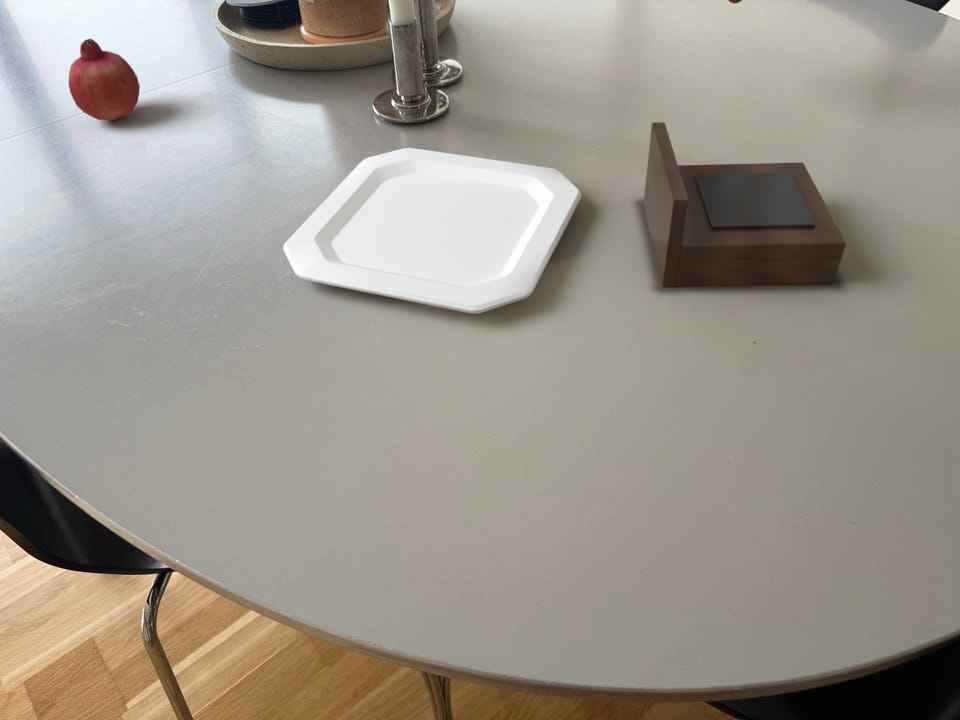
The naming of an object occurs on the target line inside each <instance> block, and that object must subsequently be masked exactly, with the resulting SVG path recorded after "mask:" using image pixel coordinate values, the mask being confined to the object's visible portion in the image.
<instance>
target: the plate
mask: <svg viewBox="0 0 960 720" xmlns="http://www.w3.org/2000/svg"><path fill="white" fill-rule="evenodd" d="M582 197H583V195H582V191H581V190H580V188H578V187H577V186H576V185H575V184H574V183H573V182H572V181H571V180H569V179H568V177H566V176H565V175H564V174H563V173H562V172H561V171H560V170H557V169H555V168H552V167H545V166H538V165H532V164H525V163H518V162H511V161H504V160H497V159H490V158H485V157H475V156H469V155H462V154H455V153H449V152H441V151H435V150H428V149H421V148H415V147H404V148H400V149H396V150H393V151H388V152H384V153H381V154H377V155H373V156H369V157H366V158H364V159H362V160H361V161H360V162H359V163H358V164H357V165H356V167H355V168H354V169H353V170H352V171H351V172H350V173H349V174H348V175H347V176H346V177H345V178H344V179H343V180H342V181H341V182H340V184H338V186H337V187H336V188H335V189H334V190H333V191H332V193H330V195H328V196H327V198H326V199H325V200H324V201H322V203H321V204H320V205H319V206H318V207H317V208H316V209H315V210H314V211H313V213H312V214H311V215H310V216H308V218H307V219H306V220H305V221H304V222H303V223H302V224H301V225H300V226H299V228H297V230H295V232H294V233H293V234H292V235H291V236H290V237H289V239H287V240H286V241H285V242H284V244H283V252H284V254H285V256H286V258H287V260H288V262H289V265H290V266H291V268H292V271H293V272H294V274H295V276H296V277H298V278H299V279H301V280H303V281H308V282H312V283H317V284H323V285H329V286H333V287H337V288H343V289H347V290H352V291H357V292H362V293H367V294H372V295H378V296H382V297H388V298H392V299H397V300H402V301H407V302H412V303H417V304H421V305H427V306H432V307H437V308H442V309H447V310H452V311H457V312H462V313H467V314H481V313H485V312H489V311H492V310H493V309H498V308H500V307H503V306H507V305H509V304H513V303H515V302H516V303H517V302H519V301H521V300H525V299H527V298H529V297H530V296H531V295H532V294H533V292H534V291H535V289H536V287H537V285H538V283H539V281H540V279H541V277H542V275H543V274H544V272H545V269H546V267H547V265H548V264H549V262H550V260H551V258H552V256H553V254H554V252H555V250H556V248H557V246H558V244H559V242H560V241H561V239H562V236H563V234H564V232H565V230H566V229H567V226H568V225H569V222H570V220H572V216H573V215H574V213H575V212H576V209H577V207H578V205H579V203H580V201H581V199H582Z"/></svg>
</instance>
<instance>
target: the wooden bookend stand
mask: <svg viewBox="0 0 960 720" xmlns="http://www.w3.org/2000/svg"><path fill="white" fill-rule="evenodd" d="M650 129H651V131H650V138H649V148H648V157H647V166H646V175H645V185H644V194H643V203H642V205H643V209H644V214H645V217H646V221H647V227H648V230H649V234H650V241H651V244H652V248H653V252H654V257H655V262H656V266H657V270H658V275H659V279H660V283H661V287H662V288H670V287H671V288H672V287H673V288H674V287H716V286H717V287H721V286H722V287H724V286H727V287H728V286H729V287H730V286H731V287H732V286H779V285H780V286H781V285H782V286H784V285H785V286H786V285H788V286H789V285H790V286H791V285H833V284H834V283H835V280H836V277H837V274H838V271H839V267H840V265H841V261H842V258H843V255H844V251H845V249H846V247H847V242H846V240H845V238H844V236H843V234H842V232H841V231H840V229H839V227H838V226H837V223H836V221H835V219H834V218H833V215H832V214H831V212H830V210H829V208H828V206H827V204H826V203H825V201H824V199H823V197H822V195H821V193H820V192H819V190H818V188H817V186H816V184H815V182H814V180H813V179H812V176H811V175H810V172H809V171H808V169H807V167H806V165H805V164H804V162H803V161H802V162H767V163H763V162H761V163H760V162H759V163H725V164H724V163H722V164H721V163H720V164H719V163H718V164H681V165H680V164H678V161H677V159H676V154H675V152H674V151H675V150H674V149H673V145H672V142H671V139H670V136H669V133H668V129H667V125H666V123H665V122H664V121H662V122H661V121H659V122H652V123H651V128H650Z"/></svg>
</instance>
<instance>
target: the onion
mask: <svg viewBox="0 0 960 720" xmlns="http://www.w3.org/2000/svg"><path fill="white" fill-rule="evenodd" d="M727 1H728V2H729V3H730V4H734V5H736V4H738V3H741V2H742V1H743V0H727Z"/></svg>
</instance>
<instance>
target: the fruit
mask: <svg viewBox="0 0 960 720" xmlns="http://www.w3.org/2000/svg"><path fill="white" fill-rule="evenodd" d="M79 53H80V56H79V57H78V58H77V59H75V60H74V61H73V62H72V64H70V68H69V72H68V88H69V93H70V95H71V98H72V99H73V101H74V103H75V105H76V107H77V108H78V109H80V110H81V111H82V113H83V114H86V115H88V116H90V117H92V118H93V119H96V120H97V121H115V120H118V119H120V118H122V117H124V116H127V115H128V114H129V113H131V112H132V111H133V110H134V108H136V105H137V104H138V102H139V96H140V87H141V85H140V82H139V79H138V76H137V74H136V72H135V71H134V69H133V67H131V66H132V65H130V64H129V62H127V60H126V59H125V58H124V57H123V56H121V55H120V54H118V53H115V52H114V51H113V52H112V51H108V50H103V49H102V48H101V46H100V45H99V43H98V42H96V40H94V39H92V38H87V39H85V40H84V41H82V42H81V43H80V47H79Z"/></svg>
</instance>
